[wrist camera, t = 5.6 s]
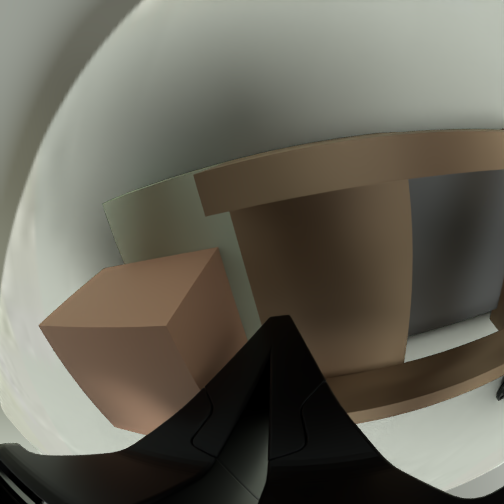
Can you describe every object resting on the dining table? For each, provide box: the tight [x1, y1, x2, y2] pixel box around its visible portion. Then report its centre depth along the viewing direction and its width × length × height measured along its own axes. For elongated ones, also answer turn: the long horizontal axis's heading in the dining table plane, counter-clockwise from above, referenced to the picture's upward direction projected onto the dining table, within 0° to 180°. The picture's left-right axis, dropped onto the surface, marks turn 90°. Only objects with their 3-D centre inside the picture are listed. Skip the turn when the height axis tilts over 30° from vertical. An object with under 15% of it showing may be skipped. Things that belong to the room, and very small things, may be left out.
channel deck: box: [102, 129, 504, 424], centre depth 8 cm, size 18×10×4 cm, turn 104°
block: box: [39, 247, 248, 435], centre depth 8 cm, size 5×5×4 cm
